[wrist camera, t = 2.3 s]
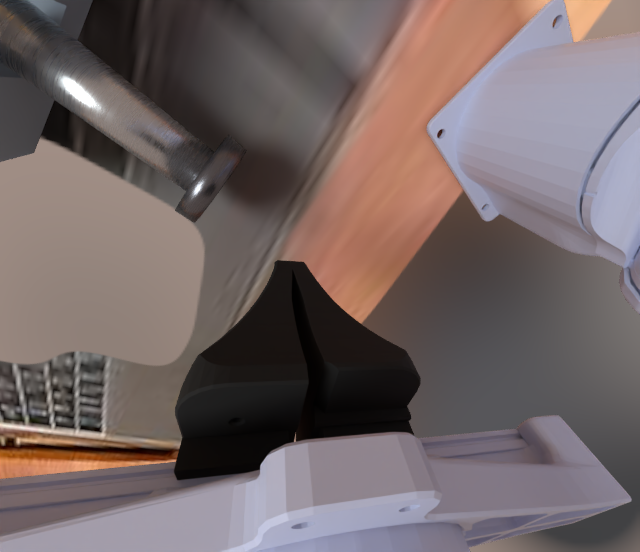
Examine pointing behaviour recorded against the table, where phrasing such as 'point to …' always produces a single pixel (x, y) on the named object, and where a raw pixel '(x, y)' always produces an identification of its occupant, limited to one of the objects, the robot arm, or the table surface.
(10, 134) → the hitch block
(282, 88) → the table surface
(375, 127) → the table surface
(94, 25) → the table surface
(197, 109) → the table surface
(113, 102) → the pin
